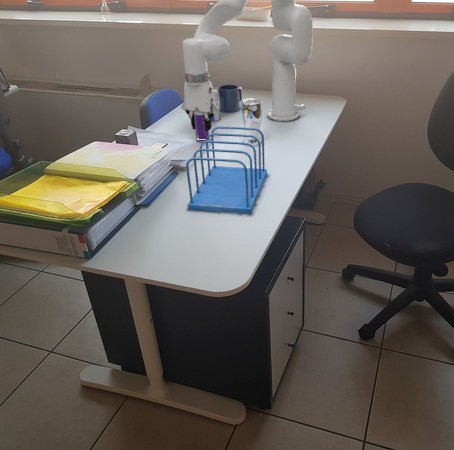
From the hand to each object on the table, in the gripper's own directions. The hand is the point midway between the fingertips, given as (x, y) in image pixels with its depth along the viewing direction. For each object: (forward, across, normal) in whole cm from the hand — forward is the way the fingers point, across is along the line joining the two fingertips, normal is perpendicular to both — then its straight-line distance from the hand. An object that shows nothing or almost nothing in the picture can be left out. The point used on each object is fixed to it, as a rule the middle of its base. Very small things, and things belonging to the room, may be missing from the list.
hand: (201, 128), depth 167 cm
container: (+5, 0, 0) cm, 5 cm away
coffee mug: (+5, +7, -38) cm, 39 cm away
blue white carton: (+5, +9, -21) cm, 24 cm away
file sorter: (+5, -27, +32) cm, 42 cm away
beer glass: (+5, -18, -5) cm, 19 cm away
